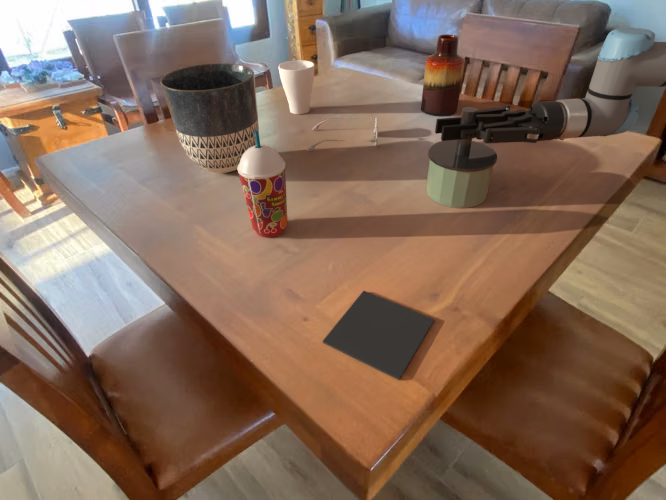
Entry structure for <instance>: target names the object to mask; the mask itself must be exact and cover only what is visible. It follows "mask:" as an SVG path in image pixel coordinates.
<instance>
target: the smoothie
mask: <svg viewBox="0 0 666 500" xmlns="http://www.w3.org/2000/svg"><path fill="white" fill-rule="evenodd" d="M254 132H255V139H256V145H254V146H252V147H250V148H248V149H247V150H246V151H245V152H244V153H243V155H242V157H241V159H240V163H239V164H238V167H237V170H236V171H237V173H238V177H239V180H240V185H241V189H242V192H243V196H244V201H245V204H246V208H247V212H248V216H249V220H250V224H251V227H252V229H253V230H254V231H255V233H256V235H258V236H260V237H262V238H276V237H278V236H280V235H282V234H283V233H284V232H285V231H286V227H287V226H288V205H287V179H286V177H287V175H286V162H285V160H284V159H283V158H282V157H281V155H280V153H279V152H278V151H277V150H276V149H274V147H272V146H270V145H266V144H261V140H260V131H259V132H258V130H255V131H254Z"/></svg>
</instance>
